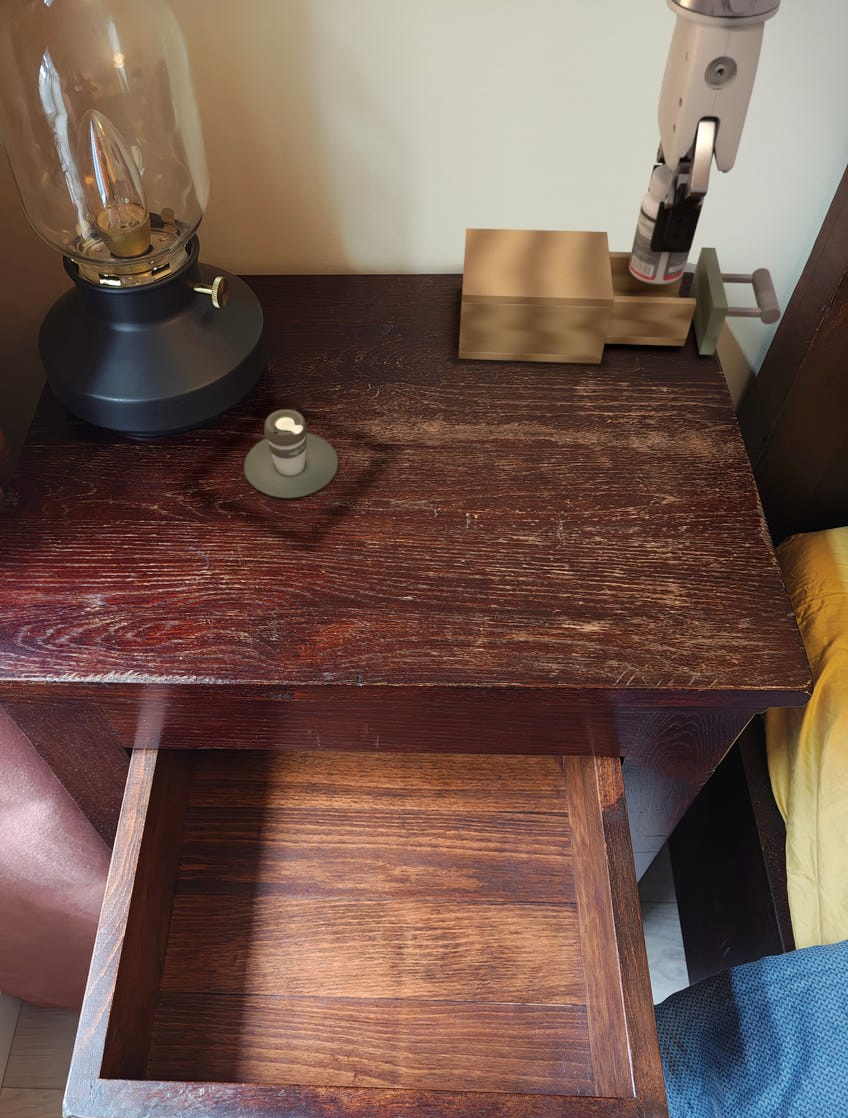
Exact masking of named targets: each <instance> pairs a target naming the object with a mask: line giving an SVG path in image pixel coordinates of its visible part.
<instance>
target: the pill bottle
mask: <svg viewBox="0 0 848 1118" xmlns="http://www.w3.org/2000/svg"><path fill="white" fill-rule="evenodd" d="M660 165H661V166H659V167H657V168H656V169H655V170H654V172H653V174H652V173H651V176H652V178H651V177H650V180H651V182H650V181H649V185H648V189H649V191H648V190H647V192H646V193H645V195H644V196H643V199H642V201H641V204H640V209H639V213H638V218H637V219H638V220H637V224H636V227H635V233H634V237H633V242H632V247H631V251H630V252H631V257H630V262H629V269H630V272H631V273H632V274H633V275H634V276H635V277H636V278H637V279H639V280H641V281H644V282H647V283H651V284H669V283H672V282H675V281H676V280H678V279H679V278H680V277H681V276H682V275H683V273H684V274H685V271H686V268H687V264H686V263H688V260H689V256H690V252H691V250H690V251H689V252H687V253H670V252H653V251H651V248H650V242H651V238H652V234H653V230H654V225H655V221H656V217H657V212H658V208H659V204H660V202H664V201H665V195H666V190H667V184H668V179H669V174H670V169H669V167H668V166H667V165H666V164H664V165H662V164H660ZM688 178H689V174H679V178H678V184H677V188H678V187H679V185H680V184H681V183H686V181H687V180H688ZM684 270H685V271H684ZM683 276H684V275H683Z"/></svg>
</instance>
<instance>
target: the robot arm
mask: <svg viewBox="0 0 848 1118" xmlns="http://www.w3.org/2000/svg"><path fill="white" fill-rule="evenodd" d="M781 2H782V0H666V5H667V7H668V8H669V9H670V11H673V13H674V14H675V15H676V20H675V24H674V28H673V32H672V36H671V41H670V44H669V49H668V54H667V58H666V61H665V62H666V63H665V67H664V72H663V77H662V81H661V87H660V93H659V99H658V106H657V124H658V130H659V136H660V141H659V145H658V148H657V152H656V161H655V163H656V164H653V167H652V171H651V175H650V181H649V183H650V182H651V178H652V174H653V172H654V170H655V169H656V168H657V167H659V166H661V165H664V164H666V165H667V166H668V167H669V169H670V174H669V179H668V184H667V190H666V195H665V201H664V202H660V204H659V208H658V212H657V217H656V221H655V225H654V230H653V234H652V238H651V242H650V248H651V251H653V252H670V253H687V252H689V251H690V252H691V249H692V247H693V243H694V238H695V234H696V232H697V227H698V224H699V220H700V216H701V213H702V209H703V205H704V201H705V197H706V196H707V194H708V190H709V184H710V183H709V182H710V174H711V167H712V163H713V158H714V160H715V164H716V168H717V172H721V173H722V174H728V173H729V172H730V171H731V170H733V168H734V166H735V163H736V159H737V155H738V152H739V147H740V143H741V138H742V135H743V131H744V127H745V123H746V118H747V114H748V110H749V107H750V103H751V98H752V94H753V90H754V86H755V85H754V84H755V81H756V76H757V73H758V67H759V62H760V56H761V50H762V46H763V45H762V44H763V39H764V31H765V24H766V23H765V22H766V21H769V20H770V19H772V18H774V17H775V16H776V15H777V13H778V12H779V8H780V5H781ZM679 174H689V178H688V180H687V181H686V183H681V184H680V185H679V187H678V188H677V184H678V178H679ZM648 191H649V188H648V190H647V192H648ZM690 252H689V253H690Z"/></svg>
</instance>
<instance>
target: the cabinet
mask: <svg viewBox="0 0 848 1118" xmlns="http://www.w3.org/2000/svg"><path fill="white" fill-rule="evenodd" d="M464 240H465V241H464V253H463V254H464V257H463V272H462V288H461V289H462V291H461V307H460V323H459V324H460V325H459V342H458V343H459V344H458V359H459V360H485V361H486V360H487V361H509V362H511V361H512V362H541V363H542V362H543V363H565V364H566V363H567V364H568V363H569V364H593V365H595V364H596V365H597V364H598V365H599V364H601V363H602V358H603V357H602V356H603V354H604V353H603V352H604V349H605V344H606V343H605V339H606V334H607V330H608V325H609V320H610V315H611V311H612V306H613V301H614V294H613V285H612V275H611V265H610V256H609V252H610V248H609V237H608V232H607V231H590V230H589V231H587V230H586V231H583V230H548V229H547V230H545V229H510V228H509V229H505V228H471V227H470V228H469V227H468V228H467V227H466V229H465V239H464Z"/></svg>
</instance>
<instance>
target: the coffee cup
mask: <svg viewBox="0 0 848 1118" xmlns="http://www.w3.org/2000/svg"><path fill="white" fill-rule="evenodd" d="M264 437H265V438H263V439H261V440H260V441H258V442H257V443H256V444H255V445H254V446H252V448H250V450H249V451H248V453H247V454H246V457H245V460H244V463H243V471H244V475H245V477H246V480H247V481H248V483H249V484H250V485H251V486H252V487H253V488H254V489H255V490H257V491H259V492H261V493H262V494H263V495H266V496H269V497H272V498H275V499H280V500H293V499H300V498H304V497H306V496H310V495H312V494H315V493H317V492H319V491H320V490H322V489H324V488H325V487H326V486H327V485H328V484H329V483H331V482H332V480H333V479H334V477H336V474H337V472H338V468H339V457H338V454H337V452H336V449H335V448H334V447H333V445H332V444H330V442H329V441H327V440H326V439H324V438H323V437H321V436H318V435H316V434H313V433H310V432H308V426H307V422H306V419H305V417H304V416H303V414H302V413H300V412H299V411H296V410H294V409H288V408H284V409H279V410H276V411H274V412H272V413H270V414H269V415H268V416H267V418H266V419H265V421H264Z"/></svg>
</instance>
